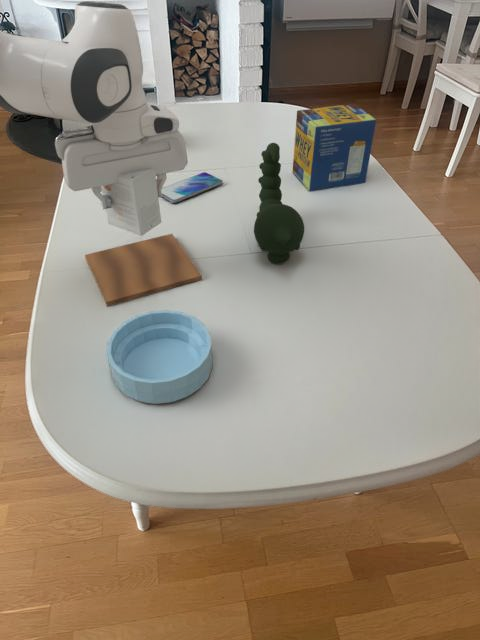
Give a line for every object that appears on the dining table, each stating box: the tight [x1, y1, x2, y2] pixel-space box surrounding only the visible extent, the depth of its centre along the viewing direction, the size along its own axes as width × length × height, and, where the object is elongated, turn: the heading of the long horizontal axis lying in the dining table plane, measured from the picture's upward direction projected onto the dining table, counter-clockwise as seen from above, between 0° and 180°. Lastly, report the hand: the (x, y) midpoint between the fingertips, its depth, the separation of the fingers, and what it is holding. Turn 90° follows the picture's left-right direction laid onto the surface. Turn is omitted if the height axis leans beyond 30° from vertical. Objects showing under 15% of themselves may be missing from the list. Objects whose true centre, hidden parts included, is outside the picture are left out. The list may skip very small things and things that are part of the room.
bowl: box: [106, 309, 213, 405], centre depth 78 cm, size 15×15×5 cm
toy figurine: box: [253, 142, 305, 265], centre depth 100 cm, size 9×19×25 cm
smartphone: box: [161, 171, 223, 204], centre depth 123 cm, size 7×1×15 cm
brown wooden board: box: [84, 233, 203, 307], centre depth 99 cm, size 18×16×1 cm
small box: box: [101, 168, 162, 237], centre depth 89 cm, size 8×6×10 cm
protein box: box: [292, 103, 377, 192], centre depth 123 cm, size 10×15×16 cm
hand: (132, 201), depth 90 cm, fingers closed on small box, 7 cm apart
